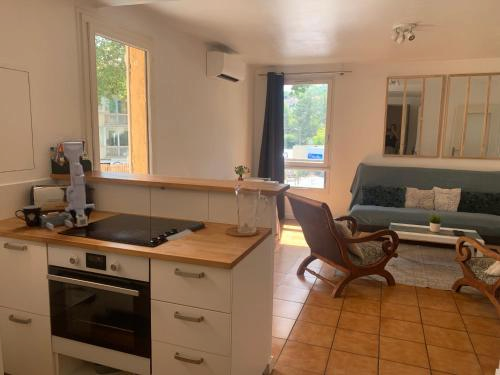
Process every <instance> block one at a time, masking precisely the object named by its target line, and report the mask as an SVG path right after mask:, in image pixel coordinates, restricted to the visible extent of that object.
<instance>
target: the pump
mask: <svg viewBox="0 0 500 375" xmlns="http://www.w3.org/2000/svg"><path fill="white" fill-rule="evenodd" d="M76 220H77V224H74V226H76V227H77V228H79V227H85V226H89V223H88V222H89V220H87V216H85V214H84V215H83V214H79V215H78V216H76Z"/></svg>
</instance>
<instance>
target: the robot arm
mask: <svg viewBox="0 0 500 375" xmlns="http://www.w3.org/2000/svg"><path fill="white" fill-rule="evenodd" d="M62 147H63V155H64V157H66V158H68V161H69V162H68V163H69V173H70V175H69V176H70V184H71V185H69V186H68V187H67V188H66V194H65V196H66V201H67V203H68V206H66V207H64V208H65V209H64V212H68V214H70V219H72V222H73V224H74V225H75V224H77V220H76V216H78V215H79V214H83V215H85V216H87V220H88V221H89V219H90V216H91V213H92V211H93V209H95V208H96V207H95V204H94V203H89V204H88V203H87V204H86V201H87V198H86V183H87V182H86V181H87V180H86V176H85V173H84V169H83V165H82V164H81V163H80V157H81V156H82V155H83V152H84V144H83V142H82V141H63V143H62Z"/></svg>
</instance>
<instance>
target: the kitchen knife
mask: <svg viewBox="0 0 500 375" xmlns="http://www.w3.org/2000/svg"><path fill="white" fill-rule="evenodd" d="M203 228H206V224H205V223H204V222H201V223H198V224H197V223H196V224H195V225H192V226H190V227H187V229H185V230H182V231H181V232H178V233H175V234H173V235H169V236H167V237H166V240H167V241H168V242H171V241H173V240H177V239H181V238H183V237H186V236H189V235H193V234H194V232H195V231H198V230H200V229H203Z"/></svg>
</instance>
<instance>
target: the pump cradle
mask: <svg viewBox="0 0 500 375" xmlns="http://www.w3.org/2000/svg"><path fill="white" fill-rule="evenodd" d="M64 221H65V224H64V225H65V226H67V227H68V228H73V221H72V222H71V220H70V221H68V220H64ZM54 227H55V226H53V225H52V224H50V223H49V222H46V227H45V228H47V229H49V230H50V231H55V228H54Z"/></svg>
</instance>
